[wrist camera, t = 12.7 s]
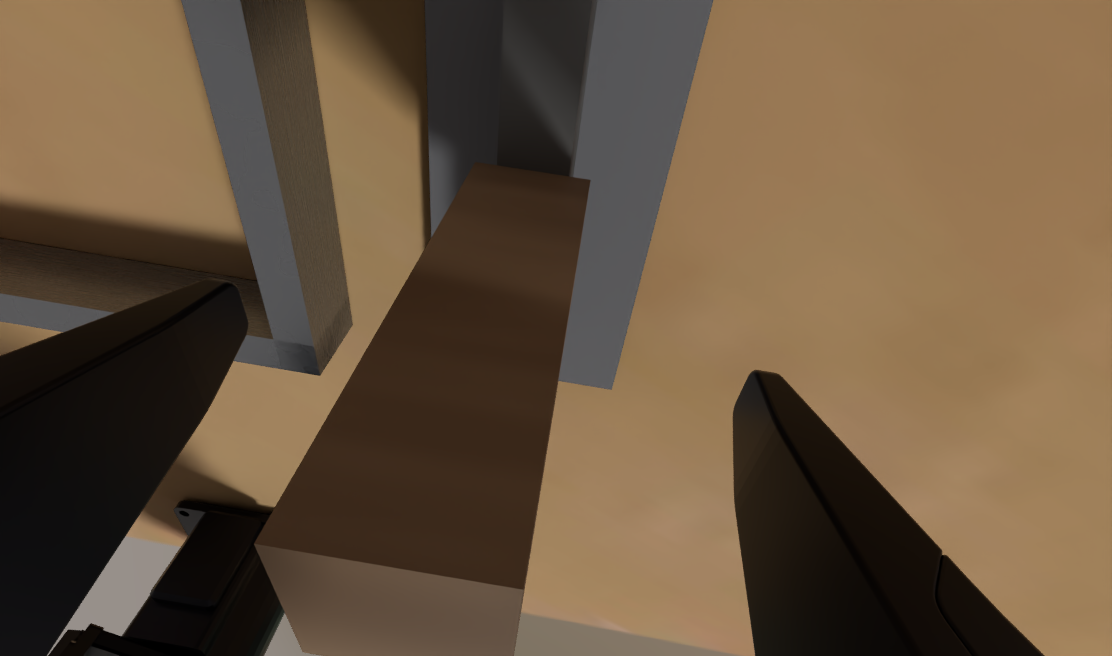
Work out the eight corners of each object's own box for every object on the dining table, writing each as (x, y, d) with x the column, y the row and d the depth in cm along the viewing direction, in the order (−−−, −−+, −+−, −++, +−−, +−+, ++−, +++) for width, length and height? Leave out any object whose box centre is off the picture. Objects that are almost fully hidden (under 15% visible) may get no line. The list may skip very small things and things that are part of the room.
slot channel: (352, 324, 19) (320, 375, 17) (-19, 262, 19) (-93, 305, 17) (273, -211, 11) (191, -230, 9) (-386, -312, 11) (-611, -353, 9)
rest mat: (612, 377, 19) (611, 389, 19) (439, 348, 19) (434, 359, 19) (751, -167, 10) (757, -169, 10) (428, -217, 10) (418, -221, 10)
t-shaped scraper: (568, 320, 17) (495, 765, 8) (490, 308, 17) (340, 737, 8) (623, -25, 11) (572, 275, 3) (506, -43, 11) (98, 202, 3)
